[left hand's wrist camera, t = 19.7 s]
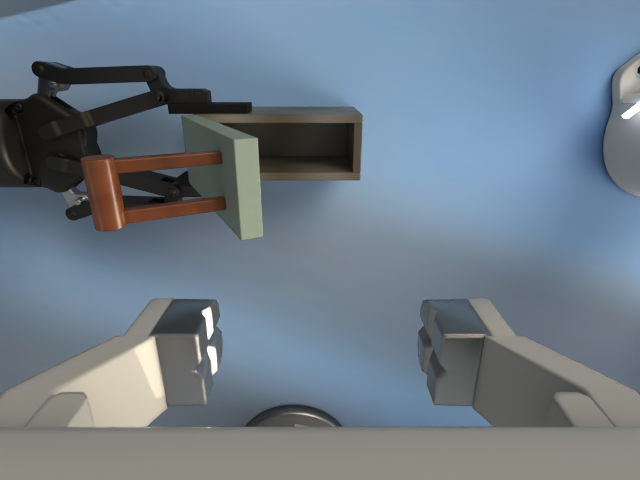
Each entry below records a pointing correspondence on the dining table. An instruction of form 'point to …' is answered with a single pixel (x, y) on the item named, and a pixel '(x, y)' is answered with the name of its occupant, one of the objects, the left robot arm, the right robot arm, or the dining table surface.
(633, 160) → the left robot arm
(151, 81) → the right robot arm
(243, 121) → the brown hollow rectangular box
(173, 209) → the lid
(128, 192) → the dining table surface
